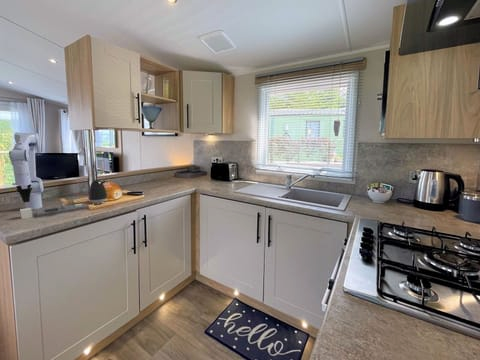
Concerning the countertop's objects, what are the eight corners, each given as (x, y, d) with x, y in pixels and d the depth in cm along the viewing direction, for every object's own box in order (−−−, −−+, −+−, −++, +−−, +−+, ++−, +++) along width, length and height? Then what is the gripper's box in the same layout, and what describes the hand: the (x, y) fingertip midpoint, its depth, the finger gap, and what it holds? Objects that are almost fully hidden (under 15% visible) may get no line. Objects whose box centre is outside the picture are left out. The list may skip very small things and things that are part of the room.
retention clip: (63, 204, 120) (63, 201, 120) (59, 201, 125) (58, 198, 125) (68, 203, 121) (68, 200, 121) (64, 200, 127) (63, 198, 127)
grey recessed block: (36, 214, 122) (34, 204, 121) (85, 206, 137) (84, 197, 136) (37, 219, 116) (36, 207, 115) (88, 210, 131) (87, 200, 130)
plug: (21, 218, 117) (20, 209, 116) (32, 217, 119) (30, 207, 118) (22, 220, 114) (20, 211, 113) (32, 218, 117) (31, 209, 116)
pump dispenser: (104, 205, 141) (102, 180, 139) (85, 205, 140) (83, 181, 137) (110, 201, 151) (109, 178, 149) (93, 201, 150) (91, 178, 147)
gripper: (10, 172, 117) (14, 198, 120) (10, 176, 107) (15, 204, 109) (29, 171, 122) (33, 196, 124) (31, 175, 112) (35, 202, 114)
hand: (26, 200), depth 117 cm, fingers open, 7 cm apart
